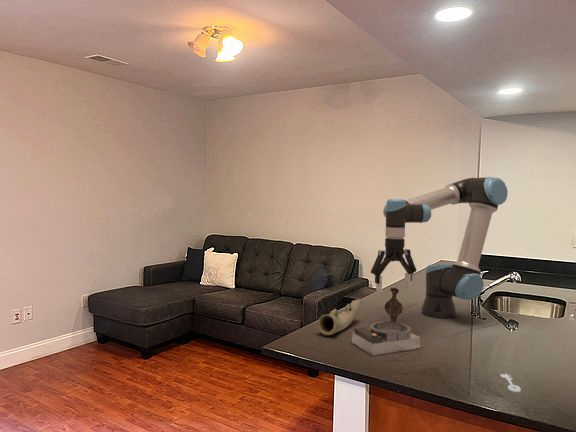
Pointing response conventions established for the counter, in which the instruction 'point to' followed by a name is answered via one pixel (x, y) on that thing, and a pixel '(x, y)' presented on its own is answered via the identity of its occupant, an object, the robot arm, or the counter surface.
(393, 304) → the figurine
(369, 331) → the white flat device
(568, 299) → the counter surface
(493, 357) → the counter surface
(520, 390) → the key
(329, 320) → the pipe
